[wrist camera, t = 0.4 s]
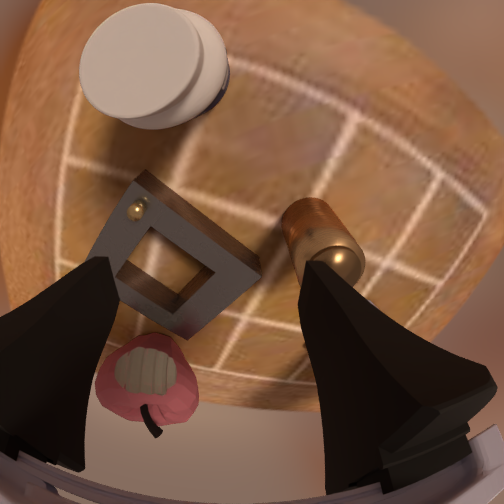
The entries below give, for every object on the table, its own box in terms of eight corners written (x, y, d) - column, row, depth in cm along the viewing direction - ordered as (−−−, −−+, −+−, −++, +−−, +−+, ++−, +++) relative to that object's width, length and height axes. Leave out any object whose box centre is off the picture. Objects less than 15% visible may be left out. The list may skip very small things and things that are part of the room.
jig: (259, 257, 21) (263, 285, 18) (190, 319, 24) (186, 349, 21) (145, 169, 17) (127, 185, 14) (91, 254, 20) (74, 279, 17)
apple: (211, 327, 25) (205, 425, 17) (194, 374, 29) (189, 453, 21) (112, 302, 23) (76, 392, 15) (114, 354, 27) (93, 430, 19)
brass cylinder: (344, 221, 20) (379, 270, 15) (306, 255, 22) (327, 312, 16) (310, 186, 19) (341, 227, 13) (270, 224, 20) (283, 278, 14)
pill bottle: (151, 125, 16) (72, 159, 7) (142, 50, 13) (57, 19, 5) (234, 111, 16) (232, 125, 7) (226, 34, 13) (216, -31, 5)
